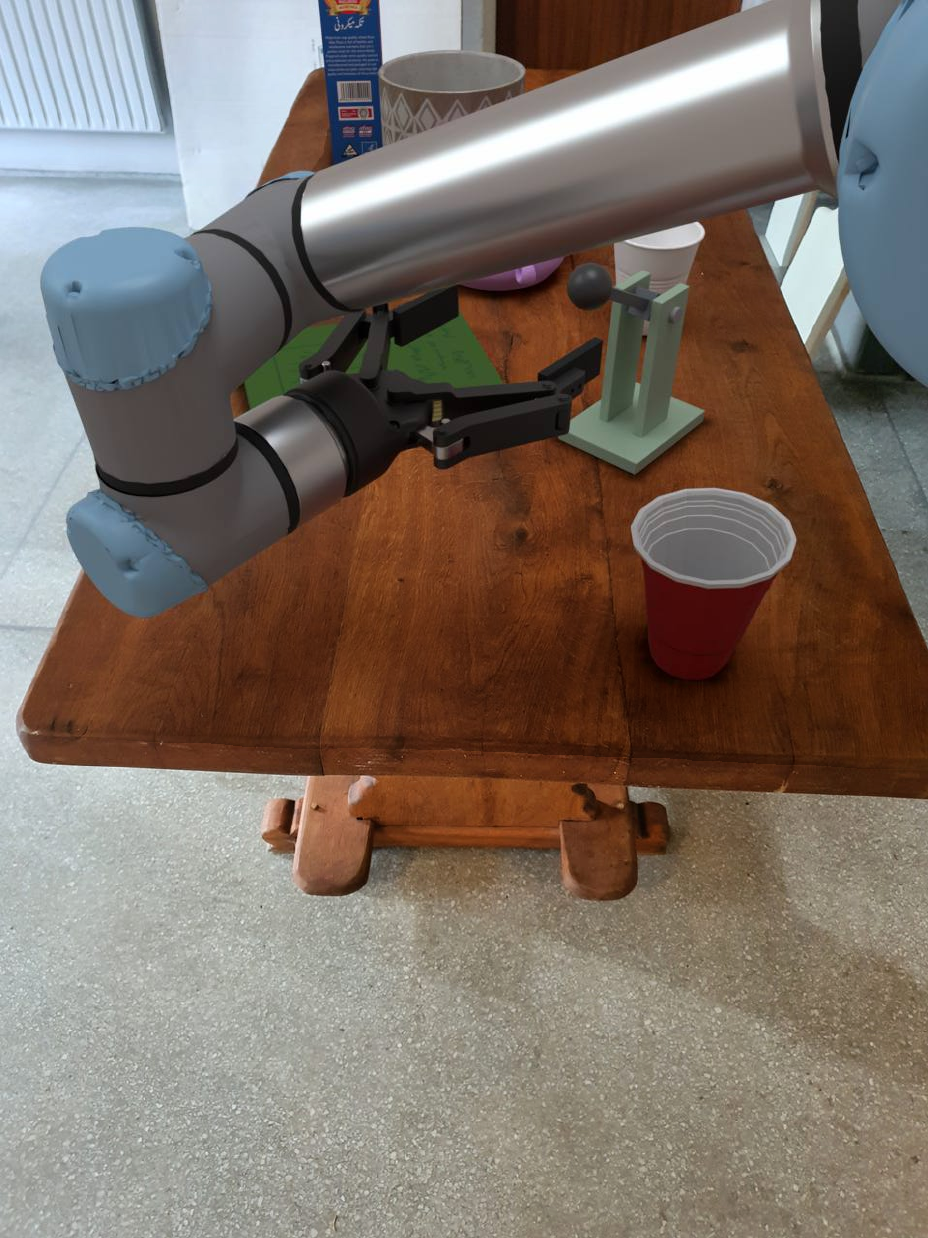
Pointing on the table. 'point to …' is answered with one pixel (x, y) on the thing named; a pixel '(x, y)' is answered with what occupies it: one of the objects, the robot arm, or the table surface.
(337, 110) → the pasta box
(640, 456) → the switch bracket
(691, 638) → the plastic cup
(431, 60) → the planter
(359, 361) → the book
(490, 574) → the table surface
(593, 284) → the switch lever
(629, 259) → the cup
